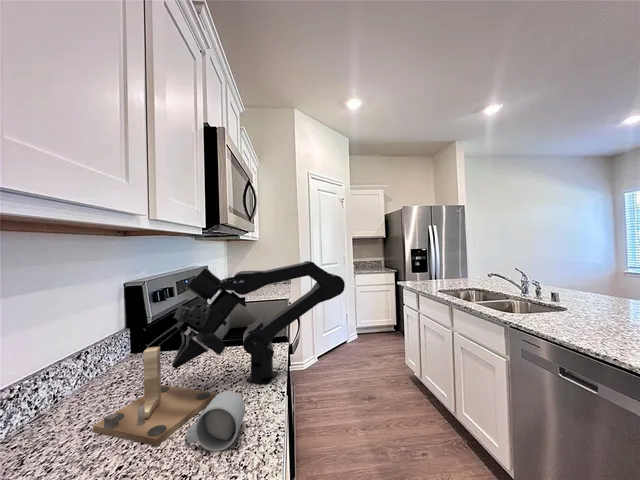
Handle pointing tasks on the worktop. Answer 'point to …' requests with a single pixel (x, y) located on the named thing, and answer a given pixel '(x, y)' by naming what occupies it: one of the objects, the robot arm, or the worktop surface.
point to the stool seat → (155, 416)
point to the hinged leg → (152, 379)
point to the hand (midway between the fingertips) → (173, 367)
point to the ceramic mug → (218, 422)
